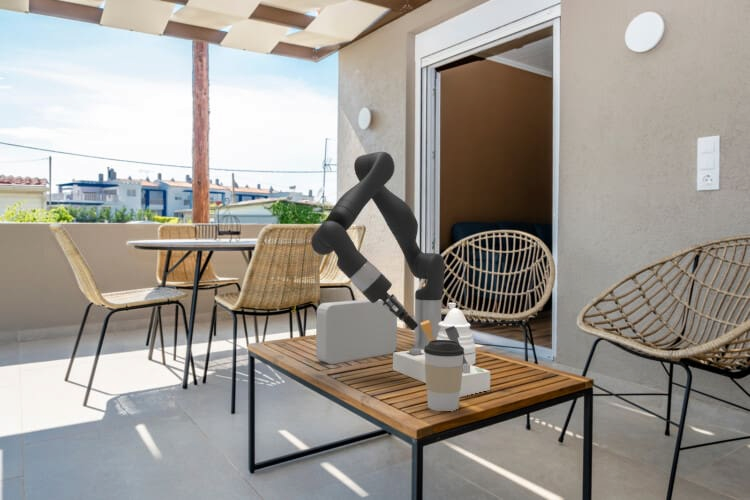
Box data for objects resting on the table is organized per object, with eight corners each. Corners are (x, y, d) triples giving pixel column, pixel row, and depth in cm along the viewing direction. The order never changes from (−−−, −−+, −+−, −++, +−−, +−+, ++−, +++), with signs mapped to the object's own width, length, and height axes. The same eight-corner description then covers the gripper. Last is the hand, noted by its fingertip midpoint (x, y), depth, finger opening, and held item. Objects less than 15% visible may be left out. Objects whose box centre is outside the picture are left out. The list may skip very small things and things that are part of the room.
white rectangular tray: (420, 365, 151) (420, 342, 151) (489, 390, 126) (490, 363, 126) (392, 369, 145) (393, 345, 145) (459, 397, 121) (460, 368, 121)
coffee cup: (419, 400, 118) (420, 337, 117) (457, 400, 119) (458, 336, 118) (427, 413, 109) (428, 345, 108) (468, 413, 110) (469, 344, 109)
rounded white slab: (382, 349, 174) (382, 297, 173) (396, 353, 168) (397, 299, 167) (311, 360, 155) (312, 302, 155) (325, 365, 150) (326, 305, 149)
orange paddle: (442, 357, 138) (428, 319, 137) (444, 360, 134) (430, 322, 134) (434, 360, 137) (420, 323, 137) (436, 363, 134) (421, 325, 134)
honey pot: (426, 358, 160) (427, 302, 160) (458, 355, 166) (459, 300, 165) (449, 368, 148) (450, 307, 148) (484, 363, 154) (485, 305, 154)
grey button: (416, 357, 147) (416, 347, 147) (423, 360, 144) (423, 349, 144) (406, 359, 145) (406, 348, 145) (413, 361, 142) (413, 351, 142)
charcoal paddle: (468, 365, 129) (453, 325, 128) (472, 369, 125) (456, 328, 125) (460, 368, 129) (444, 329, 128) (463, 372, 125) (447, 331, 125)
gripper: (381, 273, 128) (428, 321, 129) (379, 270, 141) (422, 314, 142) (360, 294, 128) (407, 342, 129) (360, 289, 141) (403, 332, 142)
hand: (415, 327), depth 135 cm, fingers closed
